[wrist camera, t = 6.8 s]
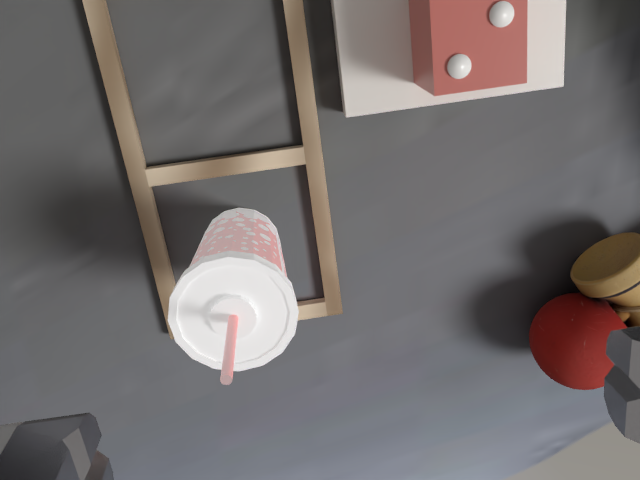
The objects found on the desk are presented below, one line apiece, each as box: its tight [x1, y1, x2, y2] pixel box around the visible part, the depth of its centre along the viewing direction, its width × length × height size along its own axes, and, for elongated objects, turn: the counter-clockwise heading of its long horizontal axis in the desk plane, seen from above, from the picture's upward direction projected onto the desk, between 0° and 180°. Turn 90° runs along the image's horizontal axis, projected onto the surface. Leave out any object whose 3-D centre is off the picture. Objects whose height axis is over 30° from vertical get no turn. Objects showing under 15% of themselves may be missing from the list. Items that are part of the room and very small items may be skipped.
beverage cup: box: [168, 208, 299, 385], centre depth 30 cm, size 6×6×14 cm
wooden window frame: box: [82, 0, 343, 339], centre depth 32 cm, size 11×31×1 cm, turn 7°
